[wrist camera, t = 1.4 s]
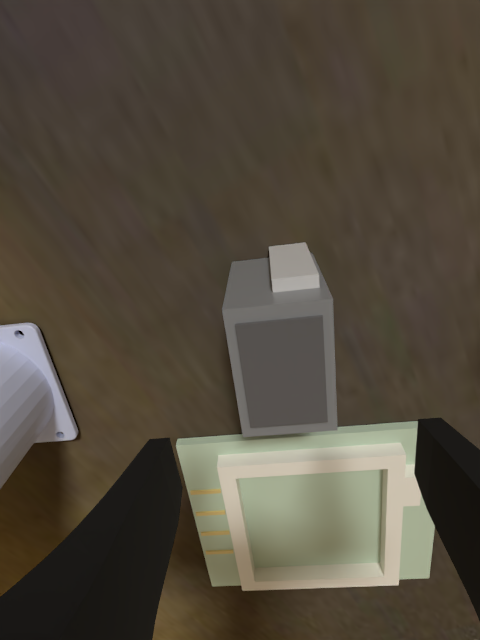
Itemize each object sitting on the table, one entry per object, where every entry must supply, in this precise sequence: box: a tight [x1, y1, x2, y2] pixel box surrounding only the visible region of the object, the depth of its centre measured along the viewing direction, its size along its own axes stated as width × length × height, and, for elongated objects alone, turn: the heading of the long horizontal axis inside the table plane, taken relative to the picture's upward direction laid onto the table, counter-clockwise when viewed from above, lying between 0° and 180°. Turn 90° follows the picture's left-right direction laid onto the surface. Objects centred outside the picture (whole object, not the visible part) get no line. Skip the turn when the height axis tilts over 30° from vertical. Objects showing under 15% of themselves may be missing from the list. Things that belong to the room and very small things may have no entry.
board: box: [176, 421, 435, 591], centre depth 26 cm, size 16×14×2 cm
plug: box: [222, 243, 337, 437], centre depth 18 cm, size 4×6×6 cm, turn 8°
